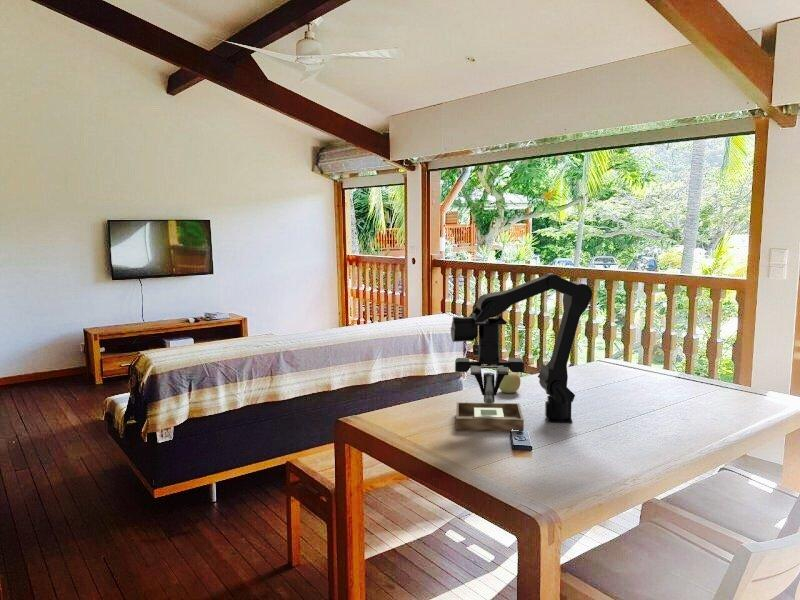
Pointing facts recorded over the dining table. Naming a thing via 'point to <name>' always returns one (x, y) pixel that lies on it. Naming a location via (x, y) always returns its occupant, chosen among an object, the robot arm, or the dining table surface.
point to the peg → (489, 387)
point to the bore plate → (488, 413)
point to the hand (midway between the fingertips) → (489, 394)
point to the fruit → (510, 382)
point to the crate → (506, 424)
